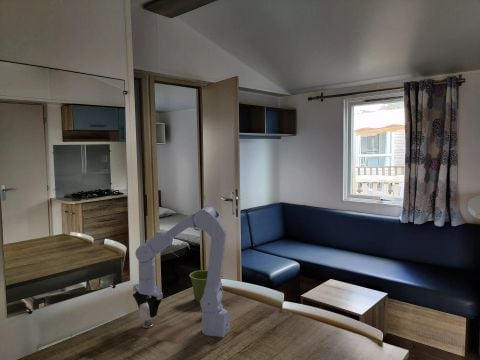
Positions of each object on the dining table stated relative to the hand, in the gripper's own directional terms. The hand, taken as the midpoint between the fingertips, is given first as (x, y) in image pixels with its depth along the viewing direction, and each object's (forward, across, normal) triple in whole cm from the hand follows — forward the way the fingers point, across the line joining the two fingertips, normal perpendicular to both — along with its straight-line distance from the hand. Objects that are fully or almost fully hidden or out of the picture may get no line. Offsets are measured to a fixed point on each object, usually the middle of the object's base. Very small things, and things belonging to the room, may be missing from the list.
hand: (148, 314), depth 133 cm
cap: (+1, 0, 0) cm, 1 cm away
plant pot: (+6, +2, -31) cm, 31 cm away
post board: (+5, -6, 0) cm, 8 cm away
